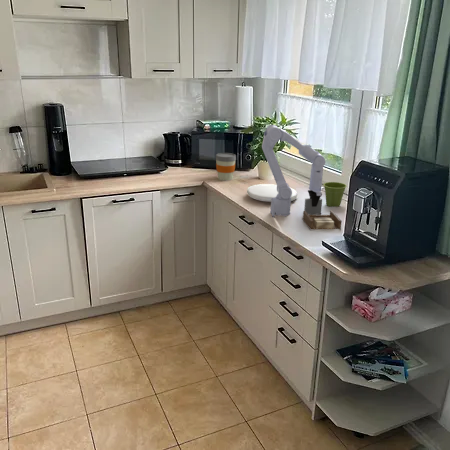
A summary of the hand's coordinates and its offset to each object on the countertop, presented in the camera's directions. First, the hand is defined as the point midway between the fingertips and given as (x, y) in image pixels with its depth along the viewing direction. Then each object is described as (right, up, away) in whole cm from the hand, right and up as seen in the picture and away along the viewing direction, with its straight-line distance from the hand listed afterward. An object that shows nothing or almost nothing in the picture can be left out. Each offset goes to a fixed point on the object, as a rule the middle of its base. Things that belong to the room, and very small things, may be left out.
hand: (313, 205), depth 229 cm
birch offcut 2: (+2, -11, -17) cm, 20 cm away
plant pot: (+13, +1, +17) cm, 22 cm away
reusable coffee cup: (-43, +19, +62) cm, 78 cm away
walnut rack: (+1, -10, -12) cm, 15 cm away
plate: (-18, +5, +27) cm, 33 cm away
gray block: (0, -4, +2) cm, 5 cm away
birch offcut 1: (+1, -10, -14) cm, 17 cm away
